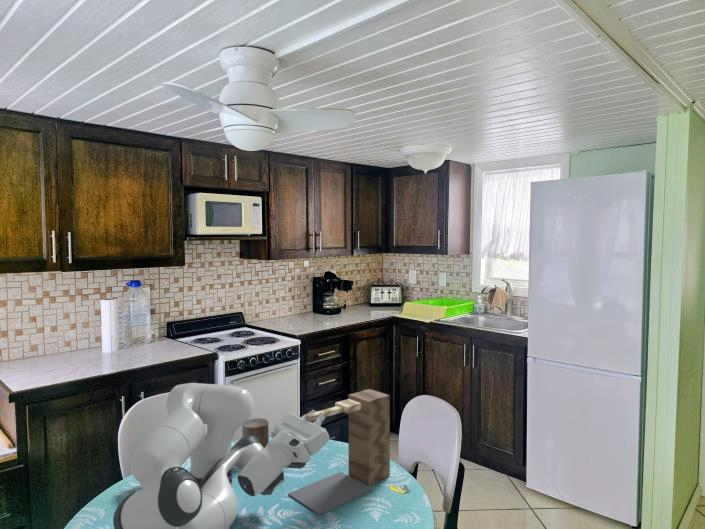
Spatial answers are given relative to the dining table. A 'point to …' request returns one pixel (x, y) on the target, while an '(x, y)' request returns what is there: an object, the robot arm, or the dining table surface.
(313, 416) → the beech spatula
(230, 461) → the robot arm
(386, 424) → the walnut stand
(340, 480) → the rubber mat
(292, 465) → the phone
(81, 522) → the dining table surface
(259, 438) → the pillar candle
